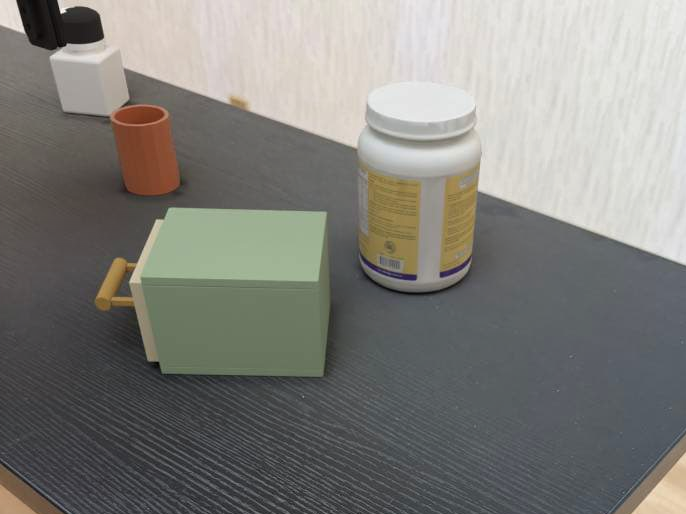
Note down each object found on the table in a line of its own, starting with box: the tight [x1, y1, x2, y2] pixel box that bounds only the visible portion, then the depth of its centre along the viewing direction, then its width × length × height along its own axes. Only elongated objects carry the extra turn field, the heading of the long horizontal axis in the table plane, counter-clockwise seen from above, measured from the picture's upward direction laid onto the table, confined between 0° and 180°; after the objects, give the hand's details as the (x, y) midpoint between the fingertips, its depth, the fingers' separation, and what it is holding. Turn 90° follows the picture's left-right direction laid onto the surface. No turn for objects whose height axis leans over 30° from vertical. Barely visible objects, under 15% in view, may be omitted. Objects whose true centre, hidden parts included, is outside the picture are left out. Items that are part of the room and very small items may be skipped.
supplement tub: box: [356, 81, 483, 293], centre depth 81 cm, size 12×12×17 cm
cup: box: [109, 104, 181, 197], centre depth 96 cm, size 7×7×8 cm
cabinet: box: [140, 207, 331, 378], centre depth 74 cm, size 15×13×10 cm
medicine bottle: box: [49, 5, 130, 118], centre depth 112 cm, size 7×7×12 cm
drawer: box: [94, 219, 164, 363], centre depth 74 cm, size 18×11×8 cm, turn 91°
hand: (48, 45), depth 72 cm, fingers closed
